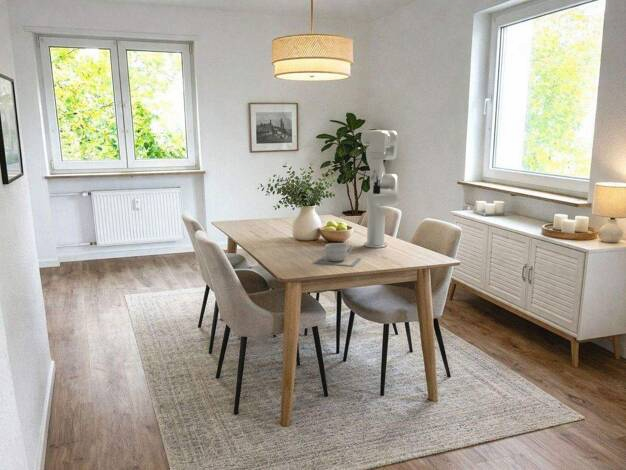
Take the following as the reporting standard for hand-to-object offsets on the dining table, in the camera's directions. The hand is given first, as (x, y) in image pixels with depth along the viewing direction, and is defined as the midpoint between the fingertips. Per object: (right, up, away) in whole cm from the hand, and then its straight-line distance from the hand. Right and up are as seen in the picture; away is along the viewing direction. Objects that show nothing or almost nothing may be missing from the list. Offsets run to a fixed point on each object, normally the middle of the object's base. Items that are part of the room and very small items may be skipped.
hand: (376, 193), depth 259 cm
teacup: (-19, -33, -1) cm, 38 cm away
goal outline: (-19, -33, -3) cm, 38 cm away
